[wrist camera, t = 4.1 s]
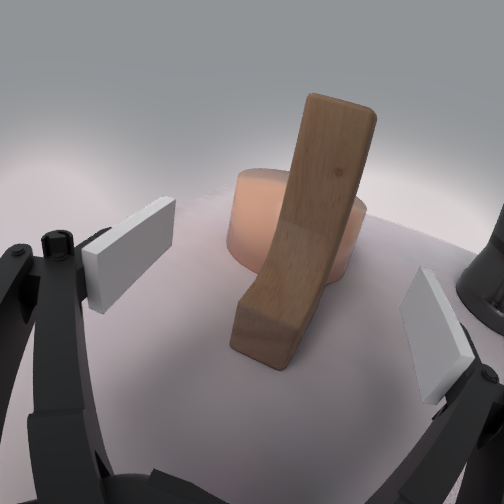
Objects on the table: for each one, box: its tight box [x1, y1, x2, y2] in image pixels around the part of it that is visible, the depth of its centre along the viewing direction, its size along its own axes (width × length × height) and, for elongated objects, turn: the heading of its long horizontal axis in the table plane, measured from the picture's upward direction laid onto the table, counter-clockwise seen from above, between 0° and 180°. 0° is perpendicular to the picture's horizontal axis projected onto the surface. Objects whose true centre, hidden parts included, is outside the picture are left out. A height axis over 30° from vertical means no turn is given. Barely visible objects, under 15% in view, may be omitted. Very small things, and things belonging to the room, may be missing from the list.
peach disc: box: [226, 169, 367, 284], centre depth 36 cm, size 15×15×8 cm
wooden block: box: [230, 93, 377, 370], centre depth 21 cm, size 9×4×18 cm, turn 154°
